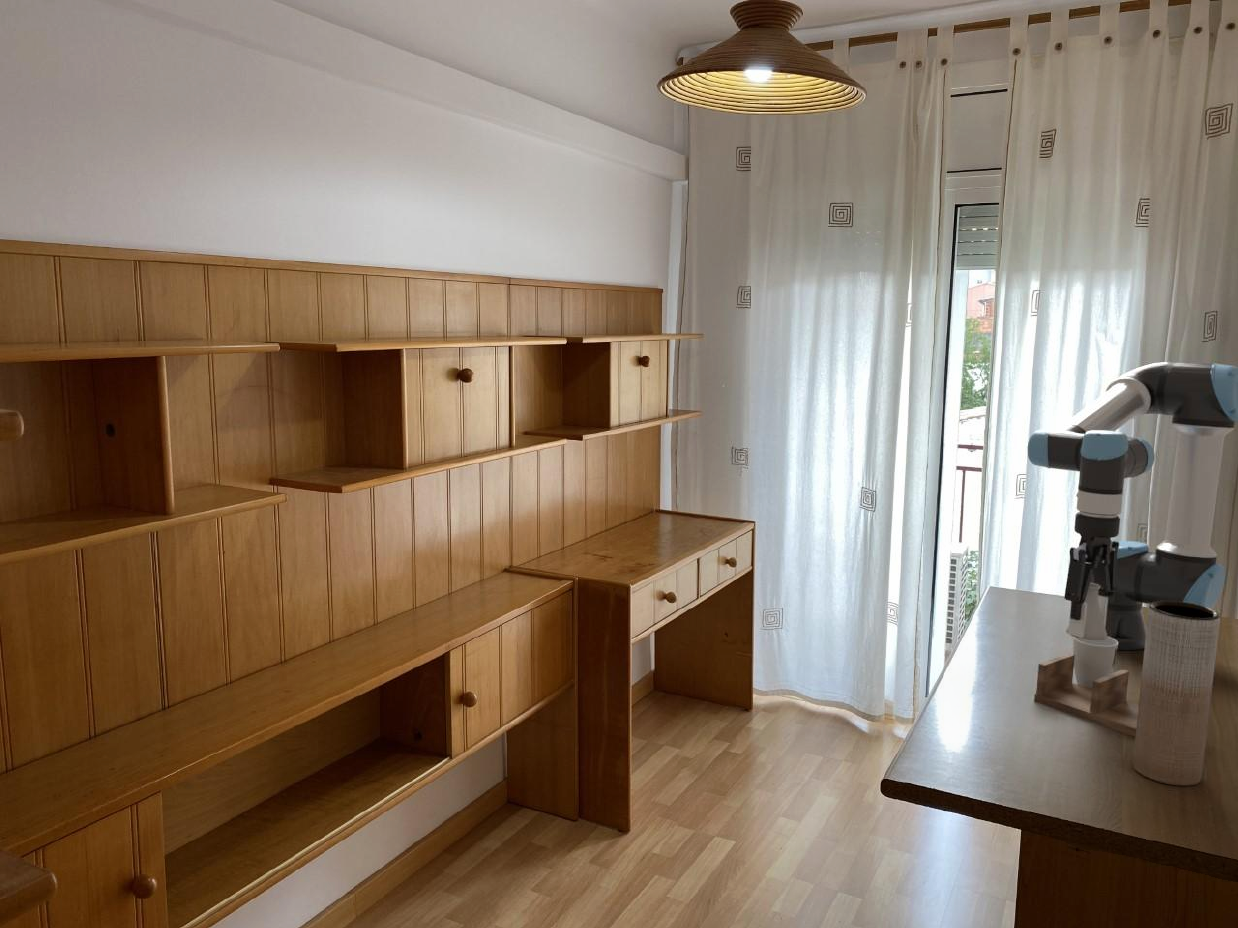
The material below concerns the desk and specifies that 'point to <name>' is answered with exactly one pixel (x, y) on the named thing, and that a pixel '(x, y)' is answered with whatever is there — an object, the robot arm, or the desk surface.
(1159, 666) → the vase
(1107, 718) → the rack
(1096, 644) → the cup
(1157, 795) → the desk surface
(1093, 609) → the flask
